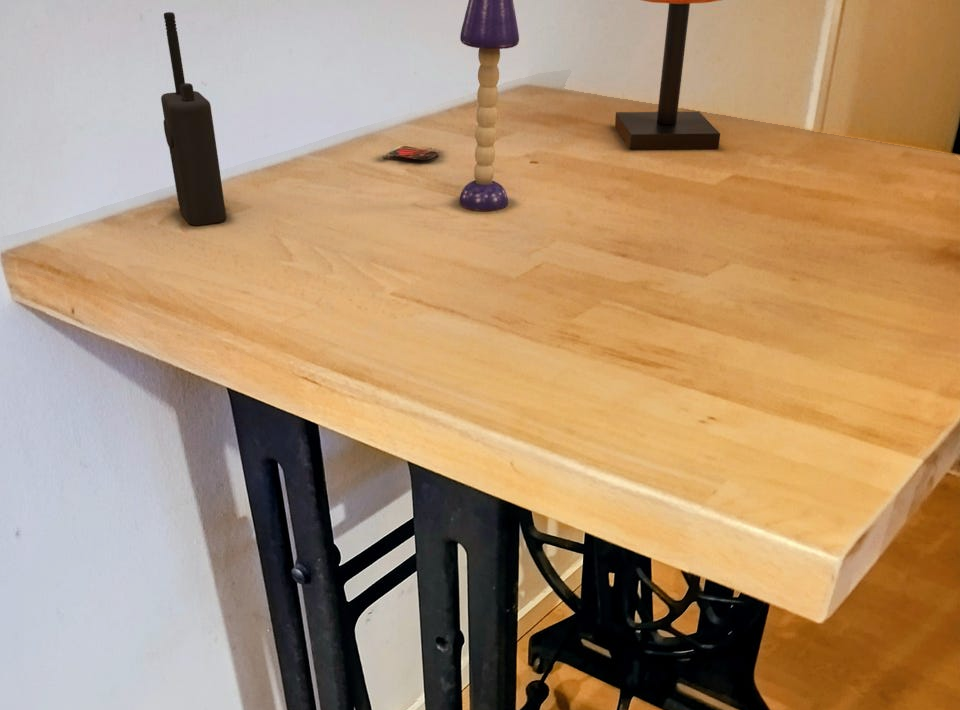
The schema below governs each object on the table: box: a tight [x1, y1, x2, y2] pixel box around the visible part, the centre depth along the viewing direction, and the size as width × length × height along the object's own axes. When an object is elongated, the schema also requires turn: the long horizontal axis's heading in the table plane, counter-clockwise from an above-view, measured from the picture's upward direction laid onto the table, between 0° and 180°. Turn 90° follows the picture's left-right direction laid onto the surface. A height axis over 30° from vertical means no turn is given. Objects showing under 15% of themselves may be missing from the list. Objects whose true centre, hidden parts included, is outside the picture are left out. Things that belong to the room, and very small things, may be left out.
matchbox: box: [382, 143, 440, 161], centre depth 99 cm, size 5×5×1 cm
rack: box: [614, 3, 721, 151], centre depth 102 cm, size 9×9×14 cm
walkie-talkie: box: [160, 11, 227, 226], centre depth 81 cm, size 5×3×15 cm
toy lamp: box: [458, 0, 520, 212], centre depth 83 cm, size 5×5×17 cm
